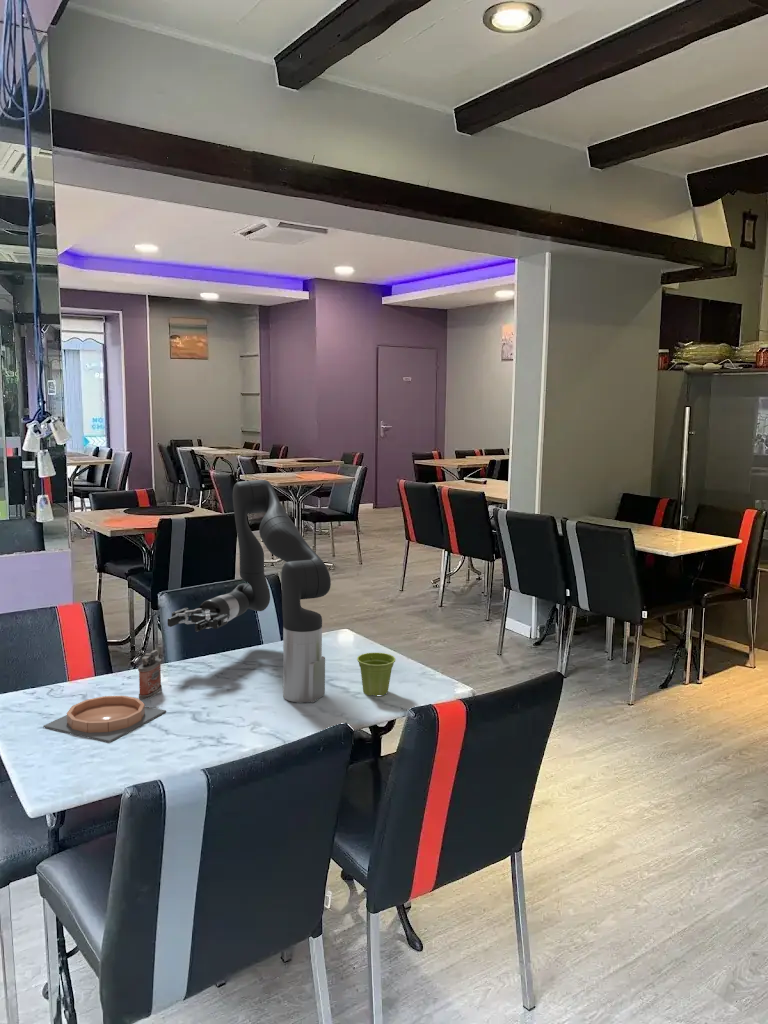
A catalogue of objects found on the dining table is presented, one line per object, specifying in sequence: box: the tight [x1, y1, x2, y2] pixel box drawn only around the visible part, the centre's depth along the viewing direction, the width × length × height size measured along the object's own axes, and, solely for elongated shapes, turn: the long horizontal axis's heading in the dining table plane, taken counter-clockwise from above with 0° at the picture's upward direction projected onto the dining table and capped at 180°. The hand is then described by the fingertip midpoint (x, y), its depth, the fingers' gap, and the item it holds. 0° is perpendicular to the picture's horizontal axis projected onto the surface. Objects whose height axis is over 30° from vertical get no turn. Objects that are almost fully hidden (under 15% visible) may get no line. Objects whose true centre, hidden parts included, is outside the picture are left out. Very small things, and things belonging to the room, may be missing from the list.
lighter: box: [137, 649, 163, 700], centre depth 184 cm, size 8×3×10 cm, turn 168°
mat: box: [43, 705, 167, 743], centre depth 169 cm, size 18×18×1 cm
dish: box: [66, 695, 146, 733], centre depth 169 cm, size 16×16×2 cm
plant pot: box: [356, 652, 397, 697], centre depth 188 cm, size 9×9×9 cm
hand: (182, 625), depth 195 cm, fingers open, 8 cm apart
